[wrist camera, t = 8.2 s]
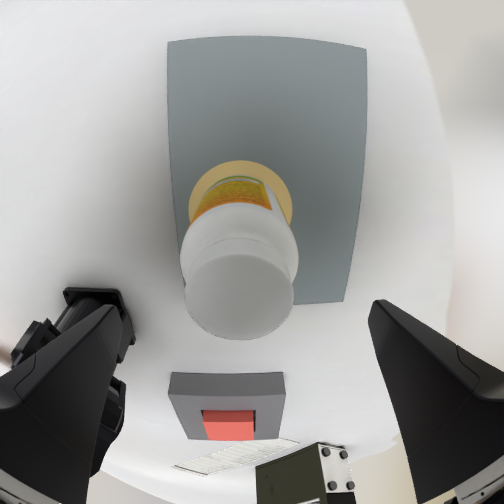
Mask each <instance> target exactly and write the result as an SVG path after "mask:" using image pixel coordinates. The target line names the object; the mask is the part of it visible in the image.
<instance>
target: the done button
mask: <svg viewBox="0 0 504 504" xmlns="http://www.w3.org/2000/svg"><path fill="white" fill-rule="evenodd" d="M203 424H204V427H205V430H206V433H207V436H208V439H209V440H225V441H241V440H254V429H253V410H204V411H203Z"/></svg>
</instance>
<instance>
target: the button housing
mask: <svg viewBox="0 0 504 504" xmlns="http://www.w3.org/2000/svg"><path fill="white" fill-rule="evenodd" d="M168 396H169V398H170V401H171V403H172V405H173V407H174V410H175V412H176V414H177V416H178V418H179V421H180V423H181V425H182V427H183V429H184V431H185V433H186V435H187V437H188V439H195V440H209V439H208V436H207V433H206V430H205V427H204V424H203V411H204V410H253V429H254V440H271V439H278V436H279V430H280V425H281V419H282V414H283V408H284V402H285V396H286V392H285V385H284V379H283V372H277V373H256V374H194V373H173V372H172V375H171V380H170V385H169V390H168ZM217 441H225V440H217ZM241 441H248V440H241Z"/></svg>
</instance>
